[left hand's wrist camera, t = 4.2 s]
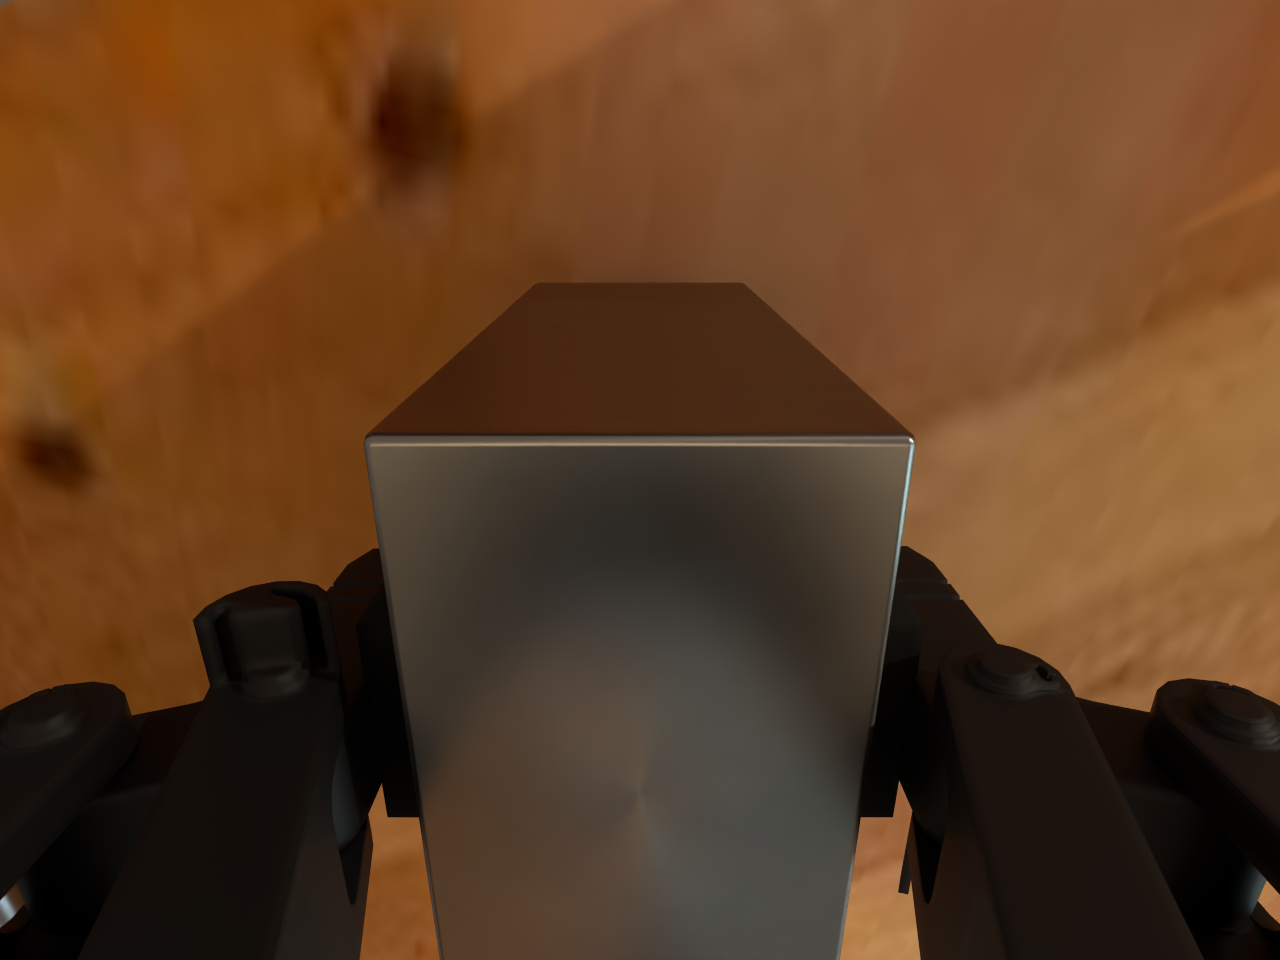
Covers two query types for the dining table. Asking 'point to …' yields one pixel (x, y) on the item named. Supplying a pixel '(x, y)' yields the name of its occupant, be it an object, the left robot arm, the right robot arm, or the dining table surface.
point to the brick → (639, 625)
